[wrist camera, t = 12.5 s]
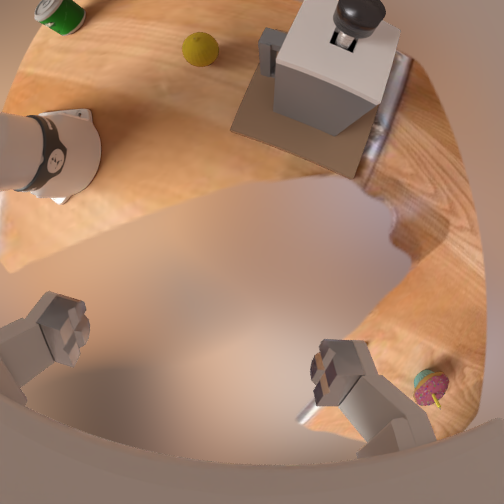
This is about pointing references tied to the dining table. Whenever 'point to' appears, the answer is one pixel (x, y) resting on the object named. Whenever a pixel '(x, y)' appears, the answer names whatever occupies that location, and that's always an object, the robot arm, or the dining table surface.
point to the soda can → (60, 15)
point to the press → (317, 89)
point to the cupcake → (430, 387)
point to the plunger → (357, 20)
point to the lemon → (200, 49)
